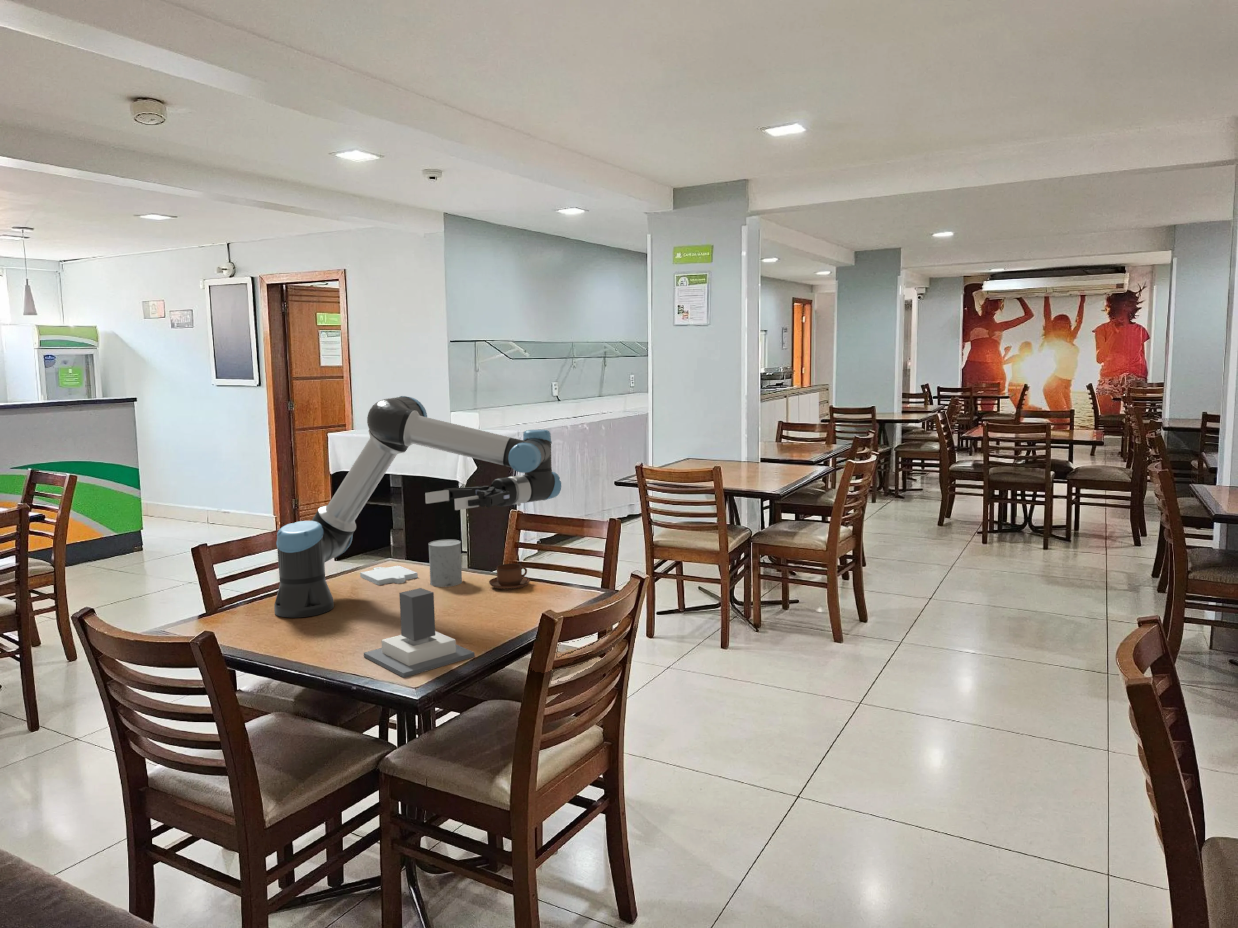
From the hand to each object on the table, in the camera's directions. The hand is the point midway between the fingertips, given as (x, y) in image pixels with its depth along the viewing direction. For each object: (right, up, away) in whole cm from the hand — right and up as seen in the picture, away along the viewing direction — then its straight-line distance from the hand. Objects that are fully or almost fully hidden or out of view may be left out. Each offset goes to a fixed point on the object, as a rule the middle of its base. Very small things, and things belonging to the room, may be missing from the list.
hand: (440, 501), depth 213 cm
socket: (-1, -35, -18) cm, 39 cm away
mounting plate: (-27, -26, +53) cm, 65 cm away
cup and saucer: (+12, -27, +40) cm, 50 cm away
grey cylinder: (-8, -27, +46) cm, 53 cm away
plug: (-1, -34, -18) cm, 38 cm away
